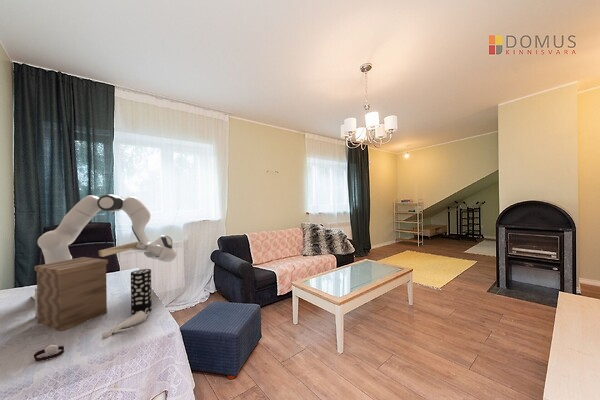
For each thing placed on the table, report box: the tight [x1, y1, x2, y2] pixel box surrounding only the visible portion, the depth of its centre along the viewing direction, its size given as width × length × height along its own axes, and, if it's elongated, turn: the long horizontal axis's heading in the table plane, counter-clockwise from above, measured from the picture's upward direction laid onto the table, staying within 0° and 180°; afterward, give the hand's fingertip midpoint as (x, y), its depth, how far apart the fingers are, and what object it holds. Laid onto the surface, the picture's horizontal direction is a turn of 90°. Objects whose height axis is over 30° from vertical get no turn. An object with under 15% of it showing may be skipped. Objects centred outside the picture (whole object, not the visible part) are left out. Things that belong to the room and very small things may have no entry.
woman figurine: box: [101, 310, 150, 339], centre depth 100 cm, size 12×4×18 cm
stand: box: [34, 256, 109, 332], centre depth 109 cm, size 20×18×26 cm
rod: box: [98, 241, 141, 258], centre depth 129 cm, size 3×20×3 cm, turn 160°
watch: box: [33, 344, 65, 362], centre depth 82 cm, size 8×5×4 cm, turn 114°
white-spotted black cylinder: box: [130, 268, 153, 316], centre depth 114 cm, size 8×8×20 cm
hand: (133, 244), depth 135 cm, fingers closed on rod, 3 cm apart
